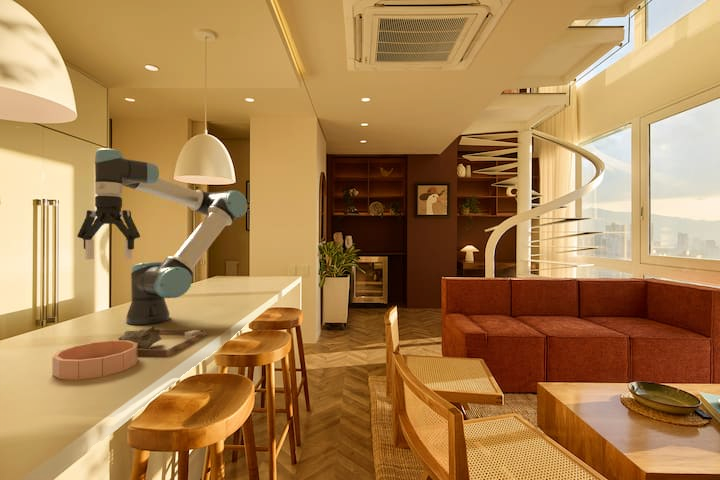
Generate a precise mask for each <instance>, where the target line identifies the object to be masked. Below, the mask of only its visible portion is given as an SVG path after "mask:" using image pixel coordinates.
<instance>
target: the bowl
mask: <svg viewBox="0 0 720 480" xmlns="http://www.w3.org/2000/svg"><path fill="white" fill-rule="evenodd" d="M138 357H139V356H138V343H135V342H132V341H128V340H118V339H112V340H102V341H93V342H88V343H83V344H78V345H73V346H70V347H67V348H65V349H62V350H59V351H57V352H56V353H55V354H53V356H52V358H51V359H52V360H51V361H52V362H51V363H52V371H51V372H52V374H51V375H52V376H53V377H55V378H56V379H58V380H71V381H72V380H75V381H77V380H78V381H79V380H88V379H95V378H101V377H102V378H103V377H106V376H110V375H113V374H116V373H120V372H124V371H126V370H128V369H130V368H131V367H134V366H136V365H137V363H138V359H139V358H138Z"/></svg>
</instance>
